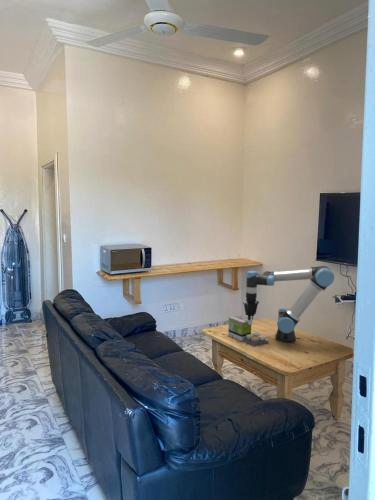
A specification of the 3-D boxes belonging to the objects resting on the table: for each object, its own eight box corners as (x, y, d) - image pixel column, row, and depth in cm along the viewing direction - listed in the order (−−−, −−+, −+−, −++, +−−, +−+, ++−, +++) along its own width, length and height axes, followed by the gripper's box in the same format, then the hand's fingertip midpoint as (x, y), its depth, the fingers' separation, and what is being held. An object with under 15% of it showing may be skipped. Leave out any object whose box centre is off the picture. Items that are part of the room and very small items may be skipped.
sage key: (250, 338, 284) (250, 334, 284) (254, 340, 281) (254, 335, 280) (245, 339, 282) (245, 335, 282) (249, 341, 279) (249, 336, 278)
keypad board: (257, 338, 289) (257, 336, 289) (268, 343, 279) (268, 340, 279) (243, 341, 283) (243, 338, 282) (254, 346, 272) (254, 344, 272)
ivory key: (261, 339, 283) (261, 334, 282) (265, 341, 279) (265, 336, 279) (257, 340, 281) (257, 335, 280) (261, 342, 277) (261, 337, 276)
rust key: (255, 341, 280) (255, 336, 279) (259, 342, 276) (259, 338, 276) (250, 342, 278) (250, 337, 277) (254, 344, 274) (254, 339, 273)
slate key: (256, 337, 288) (256, 332, 287) (260, 339, 284) (260, 334, 283) (252, 338, 285) (252, 333, 285) (256, 340, 282) (256, 335, 281)
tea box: (227, 336, 294) (228, 317, 293) (237, 333, 300) (237, 315, 298) (241, 341, 282) (242, 322, 281) (251, 339, 288) (252, 319, 287)
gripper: (255, 290, 284) (253, 321, 287) (240, 292, 277) (239, 324, 280) (261, 292, 278) (260, 324, 280) (247, 294, 271) (246, 327, 274)
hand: (250, 324), depth 280 cm, fingers closed
